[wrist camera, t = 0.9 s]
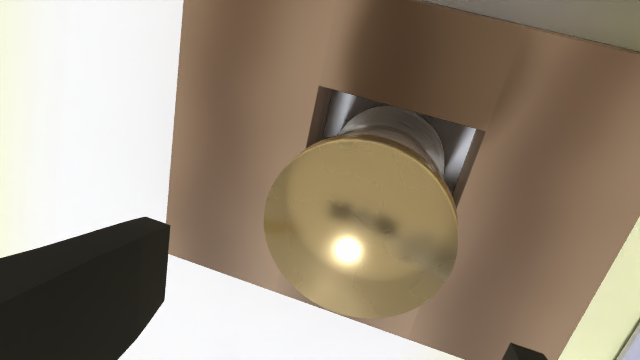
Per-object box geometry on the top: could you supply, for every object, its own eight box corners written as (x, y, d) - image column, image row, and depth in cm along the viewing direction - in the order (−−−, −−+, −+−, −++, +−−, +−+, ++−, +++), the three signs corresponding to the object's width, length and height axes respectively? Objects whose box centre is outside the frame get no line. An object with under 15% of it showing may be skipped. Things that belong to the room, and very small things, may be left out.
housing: (681, 61, 15) (720, 73, 13) (532, 342, 20) (542, 387, 18) (222, -47, 17) (187, -52, 15) (193, 226, 22) (163, 252, 20)
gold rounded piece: (478, 114, 17) (488, 177, 11) (433, 238, 19) (422, 343, 14) (338, 76, 18) (280, 117, 12) (310, 199, 20) (251, 282, 14)
